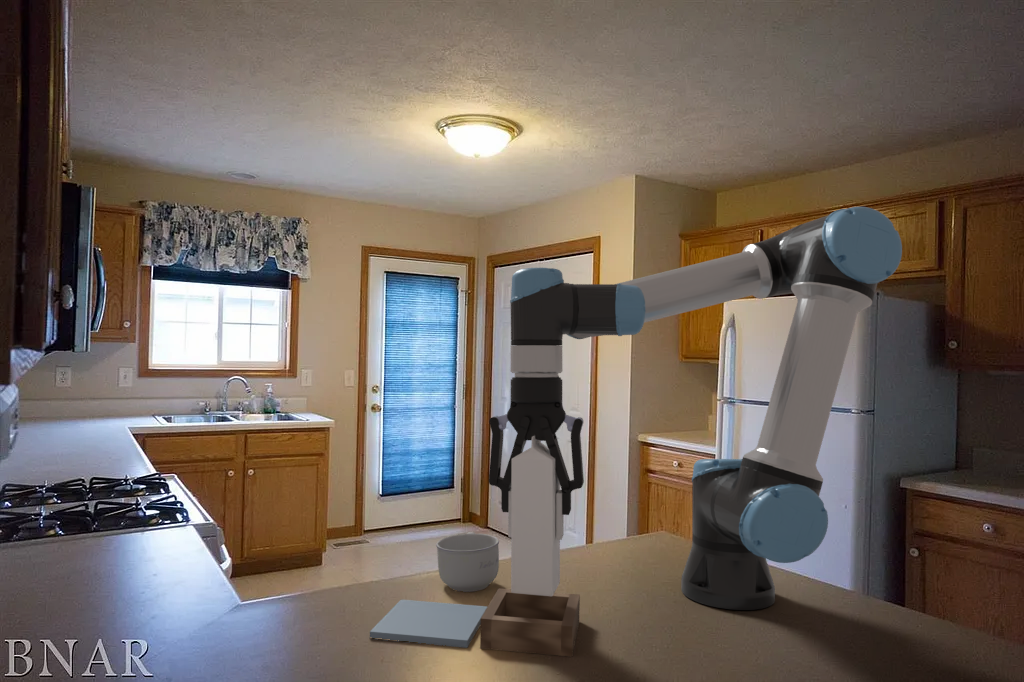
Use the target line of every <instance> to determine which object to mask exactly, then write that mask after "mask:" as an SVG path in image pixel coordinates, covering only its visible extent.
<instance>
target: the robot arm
mask: <svg viewBox="0 0 1024 682" xmlns="http://www.w3.org/2000/svg"><path fill="white" fill-rule="evenodd" d="M902 255H903V245H902V239H901V236H900V233H899V231H898V230H896V229H895V227H894V223H893V222H892V221H891V219H889V218H888V217H887V216H886V215H885V214H884V213H882V212H880V211H879V210H877V209H875V208H871V207H866V206H852V207H848V208H841V209H837V210H835V211H834V210H833V212H831V213H830V214H828V215H826V216H822V217H819V218H817V219H813V220H810V221H807V222H804V223H801V224H799V225H796V226H794V227H792V228H790V229H788V230H786V231H784V232H781V233H779V234H777V235H774V236H772V237H769V238H767V239H764V240H762V241H758V242H753V243H749V244H748V245H746V246H745V247H743V250H742V251H741V252H739V253H733V254H731V255H726V256H722V257H719V258H714V259H710V260H706V261H702V262H699V263H695V264H694V263H693V264H690V265H687V266H686V265H685V266H682V267H679V268H675V269H670V270H666V271H663V272H658V273H655V274H650V275H646V276H643V277H638V278H634V279H629V280H626V281H623V282H618V283H615V284H614V283H613V284H610V283H609V284H607V283H606V284H605V283H604V284H601V283H599V284H597V283H595V284H594V283H591V284H590V283H588V284H586V283H582V284H581V283H579V284H578V283H576V284H574V283H568V282H565V280H564V277H563V272H562V271H561V270H560V269H558V268H554V267H553V268H550V267H526V268H521V269H518V270H517V271H515V272H514V273H513V275H512V276H511V292H510V293H511V295H510V300H509V303H510V340H511V341H510V372H511V373H512V374H514V377H513V376H512V377H511V379H510V404H509V409H508V411H507V413H506V414H502V415H495V416H491V417H490V418H489V421H488V423H489V427H490V430H491V434H492V435H491V449H490V459H489V462H490V463H489V473H488V474H489V475H488V483H489V485H490V486H494V487H496V488H499V489H500V492H501V496H500V497H501V505H500V506H501V512H502V513H508V520H507V521H508V525H507V526H508V528H507V529H508V530H507V532H508V538H511V476H512V458H514V457H515V456H517V455H519V454H521V453H522V452H524V449H525V446H526V444H527V441H532V436H534V435H535V439H537V440H540V441H541V442H542V441H544V442H545V445H546V446H547V447H548V449H549V452H550V455H551V456H552V457H554V458H555V470H556V474H557V477H558V480H559V483H560V490H558V491H557V493H556V540H560V541H562V539H563V538H564V522H565V521H564V515H565V516H569V515H570V513H571V511H572V492H573V491H575V490H578V489H582V487H583V485H584V482H585V480H584V468H583V467H584V466H583V454H582V441H581V439H582V437H581V432H582V428H583V426H584V419H583V417H580V416H579V417H575V416H571V415H569V414H567V413H566V411H565V408H564V406H563V379H562V377H560V375H559V374H561V373H563V337H564V336H563V335H566V336H568V337H570V338H573V339H576V340H584V339H587V338H594V337H603V336H618V337H622V336H634V335H638V333H640V332H641V331H642V329H643V327H644V324H645V323H649V322H652V321H656V320H660V319H665V318H667V317H671V316H676V315H679V314H683V313H687V312H692V311H696V310H700V309H704V308H707V307H711V306H712V307H713V306H715V305H719V304H722V303H726V302H732V301H735V300H739V299H742V298H747V297H750V296H751V297H752V296H753V297H755V298H756V299H759V300H761V299H762V300H763V299H765V298H770V297H774V296H780V295H781V296H782V295H790V294H793V295H794V296H795V298H796V299H797V302H796V306H795V310H794V314H793V317H792V321H791V324H790V328H789V330H788V331H789V332H788V335H787V338H786V342H785V345H784V348H783V352H782V353H783V354H782V356H781V359H780V364H779V367H778V371H777V374H776V378H775V381H774V385H773V388H772V392H771V396H770V399H769V403H768V406H767V410H766V412H765V413H766V414H765V416H764V421H763V424H762V427H761V431H760V434H759V439H758V441H757V445H756V447H755V448H754V449H753V450H751V451H748V452H746V453H744V454H743V456H742V458H705V459H704V458H702V459H701V458H700V459H698V460H696V462H694V463H693V467H692V468H693V471H692V477H691V483H692V492H691V495H692V497H691V498H692V501H691V502H692V505H691V507H692V508H691V509H692V510H691V511H692V513H691V514H692V515H691V516H692V518H691V519H692V521H691V522H692V524H691V525H692V529H691V531H692V533H691V534H692V535H691V536H692V539H691V540H692V541H691V542H692V543H691V548H690V552H689V555H688V557H687V560H686V563H685V565H684V569H683V572H682V574H681V584H680V585H681V586H680V587H681V592H682V594H683V595H684V596H685V597H687V598H688V599H690V600H692V601H693V602H696V603H699V604H702V605H706V606H708V607H712V608H713V607H714V608H719V609H724V610H734V611H753V610H760V609H761V610H762V609H766V608H768V607H770V606H773V604H775V602H776V587H775V583H774V581H773V577H772V574H771V571H770V568H769V564H768V561H771V562H775V563H780V564H791V563H795V562H799V561H801V560H803V559H805V558H806V557H809V556H810V555H811V554H813V553H815V551H816V550H817V549H818V548H819V547H820V545H821V544H822V542H823V541H824V539H825V537H826V535H827V531H828V527H829V526H828V525H829V516H828V510H827V509H826V507H825V504H824V501H823V500H822V499H821V497H820V494H821V492H822V491H821V489H822V487H823V484H824V483H823V482H824V478H823V477H822V475H821V473H820V472H819V470H818V469H817V462H818V458H819V455H820V451H821V447H822V444H823V439H824V437H825V432H826V429H827V426H828V422H829V418H830V415H831V411H832V408H833V403H834V402H835V401H834V399H835V397H836V392H837V389H838V385H839V382H840V379H841V375H842V372H843V368H844V364H845V361H846V360H845V359H846V356H847V353H848V349H849V346H850V342H851V338H852V335H853V331H854V327H855V325H856V320H857V317H858V314H859V313H860V312H862V311H864V310H866V309H868V308H869V307H871V306H872V304H873V301H874V298H875V297H874V296H875V293H876V290H877V288H878V287H877V286H878V283H880V282H883V281H885V280H886V279H888V278H889V277H891V276H892V275H893V274H894V273H895V272H896V270H897V269H898V268H899V265H900V263H901V261H902ZM508 422H509V423H510V425H511V427H513V429H514V430H515V431H516V433H517V434H516V437H515V439H514V444H513V447H512V449H511V450H512V451H511V454H510V457H509V460H508V462H507V467H506V469H505V472H504V475H503V476H501V470H502V469H501V468H502V460H503V459H502V457H503V445H504V444H503V443H504V430H505V429H506V428H507V425H508V424H507V423H508ZM563 423H565V424H566V426H567V427H566V429H567V431H568V432H570V447H571V460H572V461H571V462H572V473H573V474H572V475H573V476H572V477H573V479H570V477H569V473H568V470H567V468H566V467H567V466H566V463H565V461H564V458H563V454H562V452H561V448H560V445H559V441H558V437H557V435H556V434H557V432H558V431H559V429H560V427H561V426H562V425H563Z"/></svg>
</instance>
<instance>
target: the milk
mask: <svg viewBox="0 0 1024 682" xmlns="http://www.w3.org/2000/svg"><path fill="white" fill-rule="evenodd" d="M558 490H561V486H560V483H559V480H558V477H557V474H556V470H555V458H554V457H552V456H551V455H550V452H549V449H548V447H547V445H546V444H544V443H542V441H540V440H537V439H535V435H534V436H532V440H531V447H529V448H528V449H525V450H523V452H522V453H521V454H519V455H517V456H515V457H514V458H512V476H511V537H510V539H511V543H510V545H511V546H510V549H511V550H510V551H511V552H510V555H511V556H510V557H511V558H510V559H511V560H510V563H511V565H510V568H511V569H510V570H511V572H510V574H511V575H510V576H511V577H510V588H511V593H518V594H530V595H541V596H553V594H554V593H556V591H557V589H558V587H559V585H560V583H561V575H560V574H561V540H556V493H557V491H558Z"/></svg>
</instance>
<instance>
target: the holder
mask: <svg viewBox="0 0 1024 682" xmlns="http://www.w3.org/2000/svg"><path fill="white" fill-rule="evenodd" d="M580 598H581V595H580V594H577V593H564V592H554V594H553V596H541V595H530V594H518V593H511V589H510V588H497V591H496V592H495V594H494V595H493V597H492V599H491V600H490V602H489V604H488V605H487V609H486V610H485V612H484V614H483V616H482V617H481V625H480V634H479V635H480V637H479V639H480V644H479V646H480V647H479V649H484V650H485V649H486V650H495V651H496V650H497V651H506V652H517V653H529V654H539V655H551V656H559V657H570V658H573V655H574V651H575V650H574V649H575V644H576V640H577V635H578V629H579V625H580V609H581V608H580V606H581V605H580V602H581V601H580V600H581V599H580Z"/></svg>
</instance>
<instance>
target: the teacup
mask: <svg viewBox="0 0 1024 682" xmlns="http://www.w3.org/2000/svg"><path fill="white" fill-rule="evenodd" d="M499 543H500V539H499V538H498V537H496V536H494V535H491V534H487V533H476V532H475V531H468V532H467V533H461V534H459V533H458V534H454V535H449V536H446V537H444V538H441V539H439V540H437V542H436V543H435V546H436V554H437V555H436V556H437V567H438V575H439V577H440V579H441V581H442V582H443V583H444V584H445V585H446V586H448V588H449V589H451V588H452V589H451V590H453V589H454V590H453V591H455V590H457V591H456V592H460V591H463V592H464V593H469V592H470V593H472V592H477V591H482V590H484V589H486V588H487V587H488V586H489V585H490V584H491V583H492V582H494V580H496V579H497V577H498V576H497V575H498V573H499V568H500V563H499V559H500V555H499V554H500V553H499V552H500V551H499V549H500V548H499ZM463 592H462V593H463Z"/></svg>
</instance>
